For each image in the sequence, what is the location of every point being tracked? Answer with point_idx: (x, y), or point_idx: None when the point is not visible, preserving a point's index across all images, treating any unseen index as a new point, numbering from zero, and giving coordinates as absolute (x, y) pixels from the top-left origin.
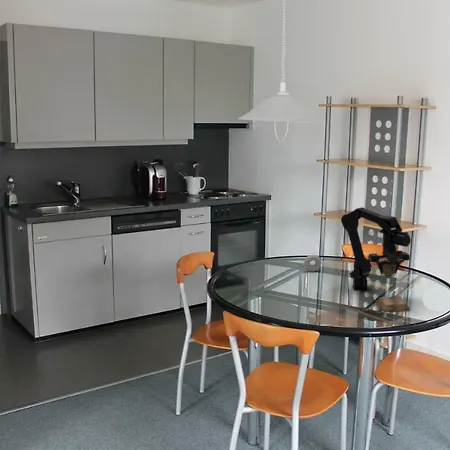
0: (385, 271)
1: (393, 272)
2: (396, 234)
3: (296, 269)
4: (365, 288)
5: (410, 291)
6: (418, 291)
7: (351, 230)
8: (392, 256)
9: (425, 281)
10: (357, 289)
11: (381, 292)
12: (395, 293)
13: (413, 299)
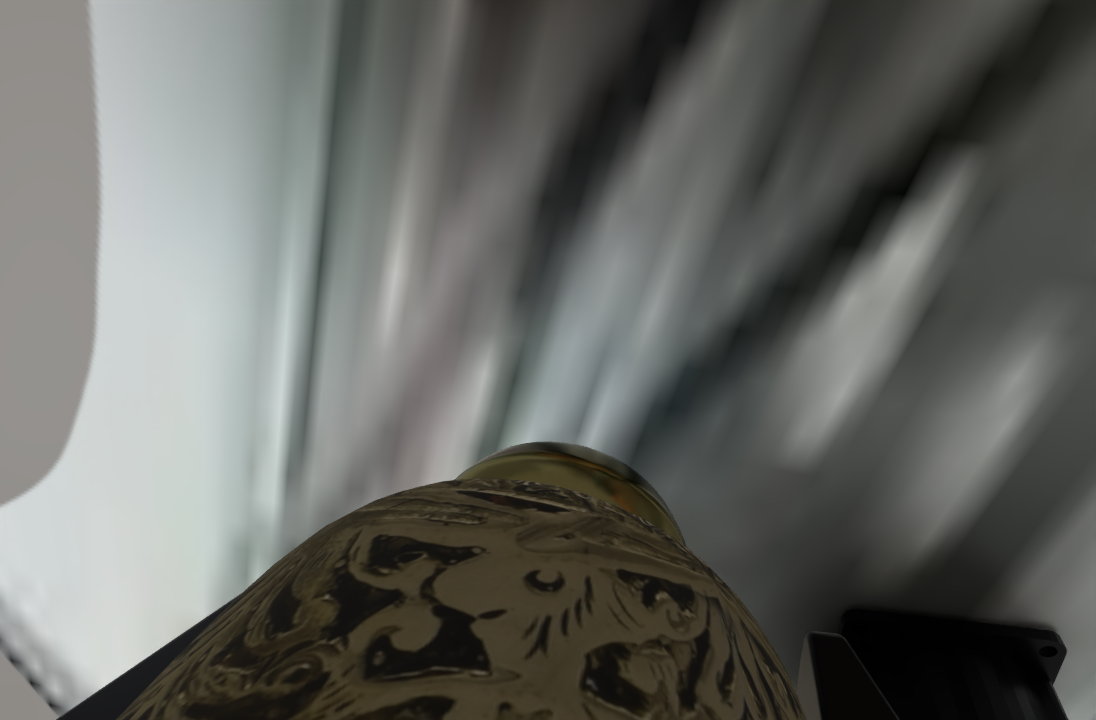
0: (734, 661)
1: (326, 530)
2: None
3: None
4: (867, 638)
5: (260, 432)
6: (163, 412)
7: None
8: None
9: (105, 647)
10: (1022, 636)
11: (667, 481)
12: (471, 404)
13: (232, 95)
